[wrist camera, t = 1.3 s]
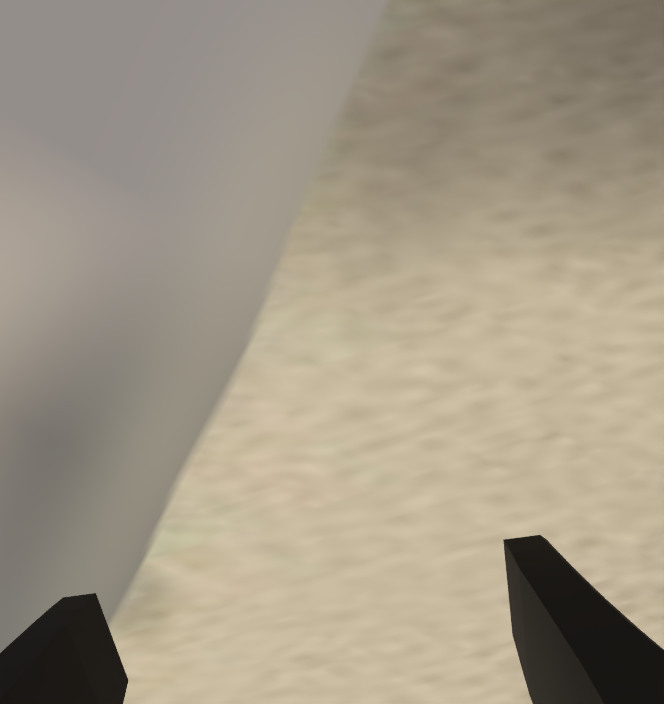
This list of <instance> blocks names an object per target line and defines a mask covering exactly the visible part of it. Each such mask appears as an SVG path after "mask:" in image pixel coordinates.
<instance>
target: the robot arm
mask: <svg viewBox="0 0 664 704" xmlns="http://www.w3.org/2000/svg"><path fill="white" fill-rule="evenodd" d="M504 550H505V561H506V571H507V581H508V591H509V602H510V612H511V622H512V633H513V638H514V641H515V645H516V648H517V652H518V656H519V659H520V663H521V666H522V670H523V673H524V677H525V680H526V684H527V687H528V691H529V694H530V697H531V700H532V702H533V704H664V650H663V649H662V648H661V647H660V646H659V645H657V644H656V643H655V642H654V641H653V640H651V639H650V638H649V637H648V636H647V635H646V634H644V633H643V632H642V631H641V630H640V629H639V628H637V627H636V626H635V625H634V624H633V623H632V622H631V621H630V620H629V619H627V618H626V617H625V616H624V615H623V614H622V613H621V612H620V611H619V610H617V609H616V608H615V607H614V606H613V605H612V604H611V603H610V602H609V601H607V600H606V599H605V598H604V597H603V596H602V595H601V594H600V593H599V592H598V591H597V590H596V589H595V588H594V587H593V586H592V585H591V584H590V583H589V582H587V581H586V580H585V579H584V578H583V577H582V576H581V575H580V574H579V573H578V572H577V571H576V570H575V569H574V568H573V567H572V566H571V565H570V564H569V563H568V562H567V561H566V560H565V559H564V558H563V556H562V555H561V554H560V553H559V552H558V551H557V550H556V549H555V548H554V547H553V546H552V545H551V544H550V543H549V542H548V541H547V540H546V539H545V538H544V537H542V536H541V535H536V536H528V537H521V538H513V539H506V540H504ZM127 684H128V678H127V676H126V673H125V670H124V668H123V665H122V662H121V660H120V657H119V654H118V652H117V649H116V646H115V644H114V641H113V638H112V636H111V633H110V630H109V628H108V625H107V623H106V620H105V617H104V614H103V612H102V609H101V606H100V604H99V601H98V598H97V595H96V593H94V594H86V595H79V596H71V597H64V598H62V599H61V600H60V601H58V602H57V603H56V604H55V605H53V606H52V607H51V608H50V609H49V610H48V611H46V612H45V613H44V614H43V615H42V616H41V617H40V618H38V619H37V620H36V621H35V622H34V623H33V624H32V625H31V626H29V627H28V628H27V629H26V630H25V631H24V632H23V633H22V634H21V635H20V636H19V637H18V638H16V639H15V640H14V641H13V642H12V643H11V644H10V645H9V646H8V647H6V649H4V650H3V651H2V652H1V653H0V704H123V701H124V697H125V692H126V688H127Z"/></svg>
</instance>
